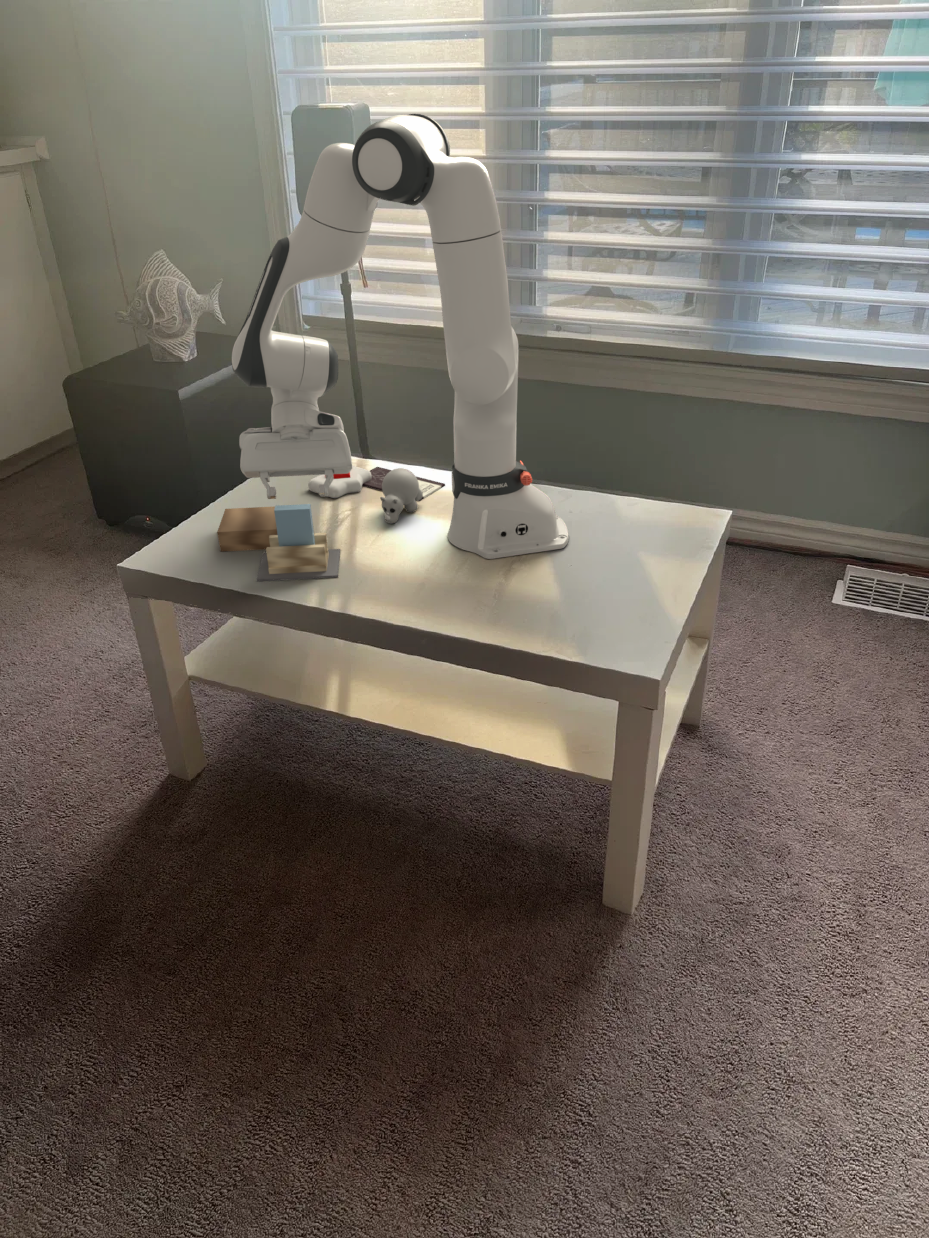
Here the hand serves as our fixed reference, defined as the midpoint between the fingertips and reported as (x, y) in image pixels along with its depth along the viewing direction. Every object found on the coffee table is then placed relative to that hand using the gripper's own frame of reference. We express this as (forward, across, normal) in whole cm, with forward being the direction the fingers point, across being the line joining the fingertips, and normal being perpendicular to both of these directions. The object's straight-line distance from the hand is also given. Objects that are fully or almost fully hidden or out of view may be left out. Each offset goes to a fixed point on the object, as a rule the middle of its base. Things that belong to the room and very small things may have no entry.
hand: (297, 496), depth 167 cm
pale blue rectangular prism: (+12, 0, -2) cm, 12 cm away
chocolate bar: (-10, +18, +24) cm, 32 cm away
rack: (+13, 0, -1) cm, 13 cm away
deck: (+5, -9, +8) cm, 13 cm away
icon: (-10, +7, +24) cm, 27 cm away
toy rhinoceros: (0, +18, +13) cm, 22 cm away
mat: (+13, 0, -1) cm, 13 cm away
